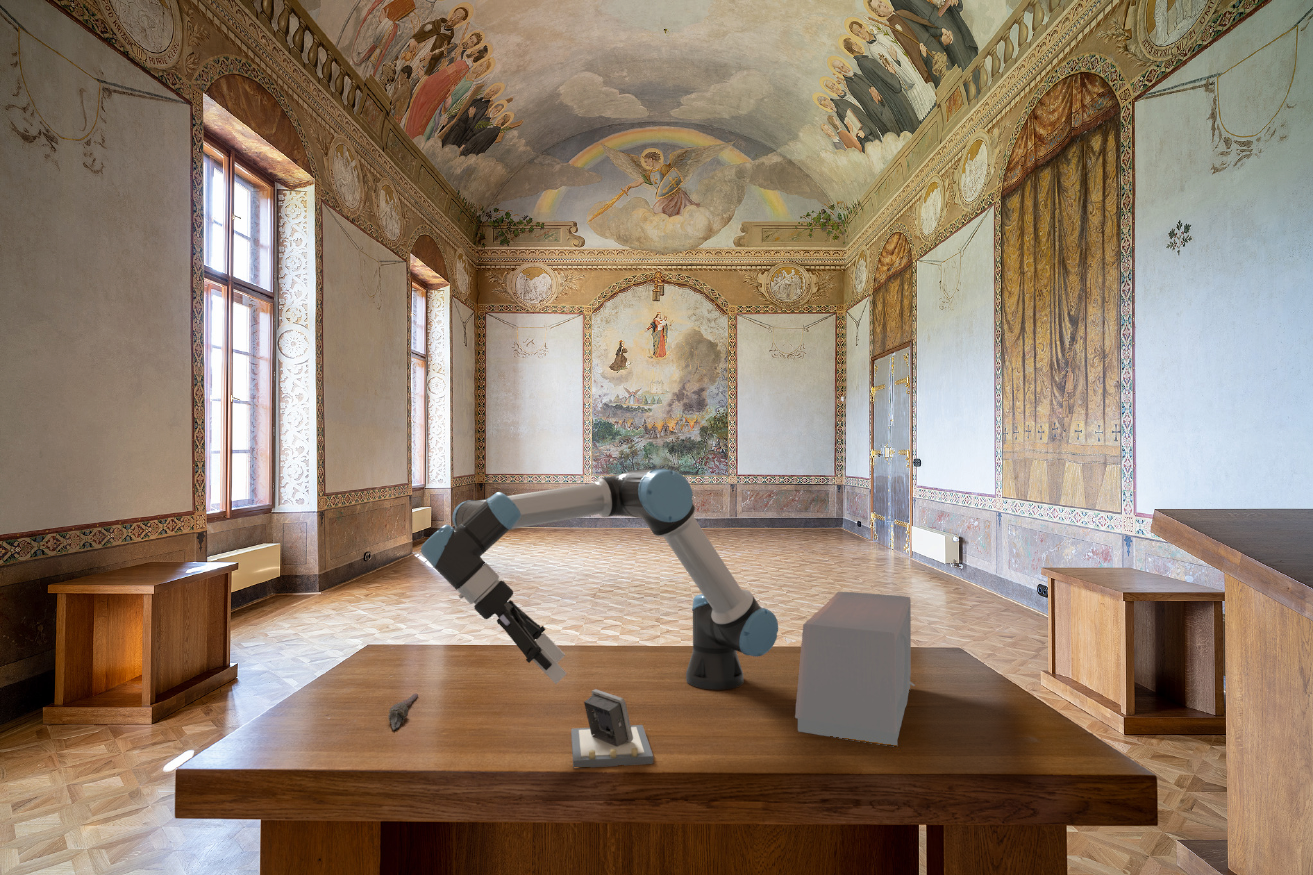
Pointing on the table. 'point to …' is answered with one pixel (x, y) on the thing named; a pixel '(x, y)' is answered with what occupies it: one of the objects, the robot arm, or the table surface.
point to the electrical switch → (608, 718)
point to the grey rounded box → (856, 668)
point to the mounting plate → (609, 749)
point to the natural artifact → (400, 712)
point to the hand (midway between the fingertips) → (560, 668)
